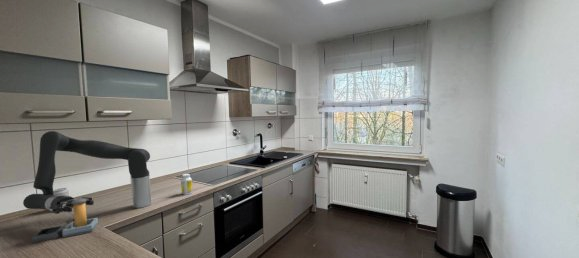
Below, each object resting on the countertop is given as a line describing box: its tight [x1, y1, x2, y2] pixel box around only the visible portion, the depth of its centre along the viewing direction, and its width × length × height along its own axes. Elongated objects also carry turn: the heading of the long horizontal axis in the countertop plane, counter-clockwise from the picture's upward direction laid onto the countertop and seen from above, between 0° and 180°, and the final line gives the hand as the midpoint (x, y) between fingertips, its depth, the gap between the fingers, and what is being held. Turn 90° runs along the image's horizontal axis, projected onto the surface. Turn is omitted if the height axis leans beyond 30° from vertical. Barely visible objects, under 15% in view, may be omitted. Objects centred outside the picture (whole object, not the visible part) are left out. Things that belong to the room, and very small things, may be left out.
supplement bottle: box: [180, 173, 193, 196], centre depth 160 cm, size 7×7×13 cm
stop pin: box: [72, 198, 88, 228], centre depth 110 cm, size 5×5×13 cm
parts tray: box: [62, 217, 99, 238], centre depth 110 cm, size 10×10×3 cm
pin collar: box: [31, 224, 66, 243], centre depth 105 cm, size 8×8×2 cm
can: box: [53, 187, 70, 196], centre depth 140 cm, size 8×8×12 cm
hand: (82, 206), depth 109 cm, fingers open, 8 cm apart
